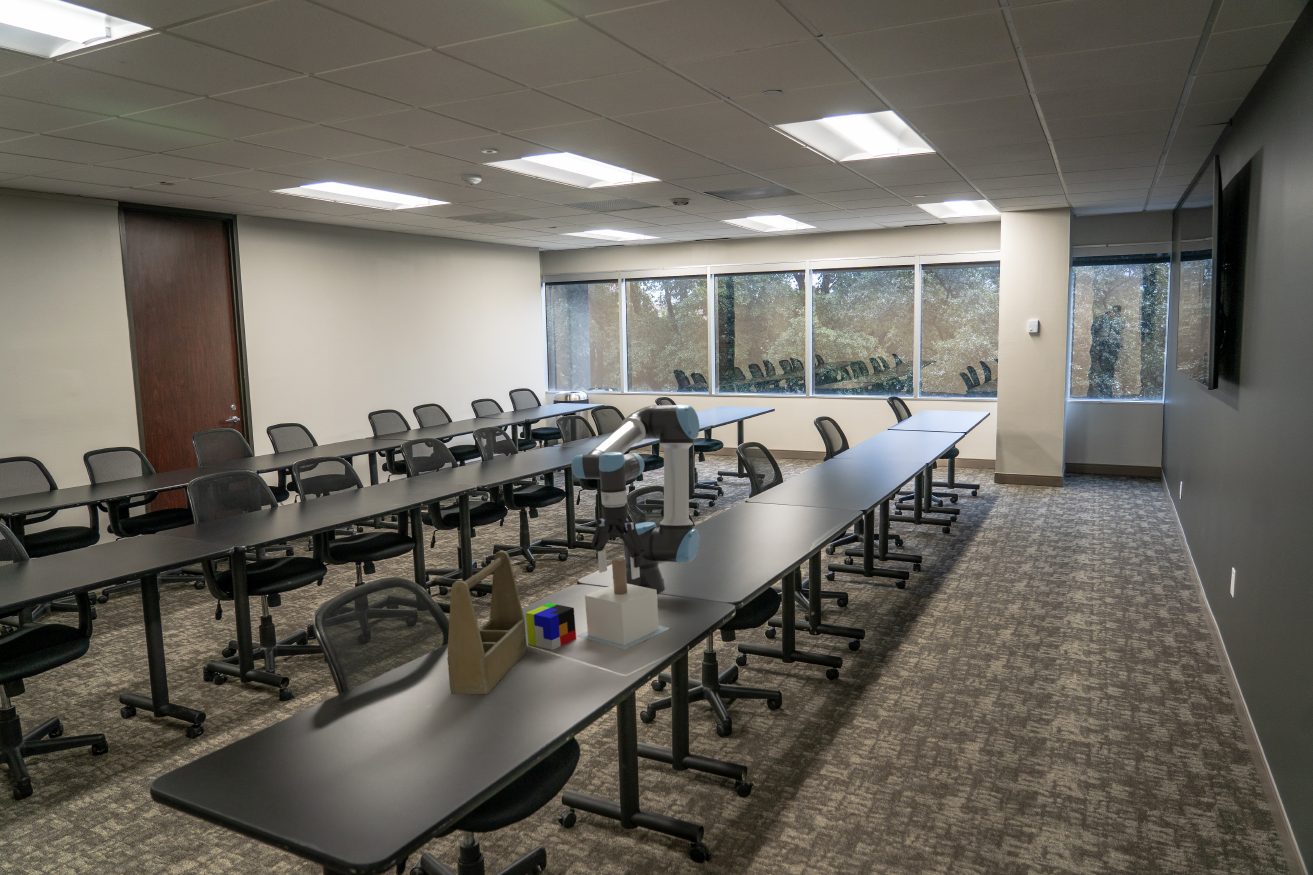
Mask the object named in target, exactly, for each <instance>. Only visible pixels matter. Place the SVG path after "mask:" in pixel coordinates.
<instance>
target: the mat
mask: <svg viewBox="0 0 1313 875" xmlns="http://www.w3.org/2000/svg"><path fill="white" fill-rule="evenodd" d="M670 629H671V627H667V626H662V625H659V629H658V630H656V631H654V632H652V633H650V634H647V635H645V636H643V637H641V638H639V639H636V640H634V641H632V642H630V643H628V644H625V645H622V644H619V643H615V642H612V641H608V640H604V639H601V638H597V637H593V636H590V635H588V630H587V631H585V632H583V633H579V634H576V637H579V638H582V639H585V640H590V641H592V642H593V641H594V642H596V643H601V644H604V645H607V646H610V647H614V648H618V649H622V650H627V649H628V648H631V647H633V646H635V645H637V644H640V643H642V642H644V641H646V640H648V639H650V638H653V637H655V636H657V635H659V634H661V633H663V632H666V631H668V630H670Z"/></svg>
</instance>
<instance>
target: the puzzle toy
mask: <svg viewBox="0 0 1313 875" xmlns="http://www.w3.org/2000/svg"><path fill="white" fill-rule="evenodd" d="M525 620H526V632H527V633H526V634H527V642H528V643H527V644H528V646H529V645H530V647H533V646H535V647H538V648H542V649H543V648H544V649H547V650H550V651H554V650H555V649H558V648H561V647H562V646H564V645H566V644H568V643H571V642H572V641H575V640H577V632H576V618H575V607H572V606H567V605H562V604H556V603H552V602H549V603H546V604H544V605H541V606H539V607H536V608H534V609H532V610H530V611H527V612H525Z"/></svg>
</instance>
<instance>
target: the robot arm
mask: <svg viewBox="0 0 1313 875" xmlns="http://www.w3.org/2000/svg"><path fill="white" fill-rule="evenodd" d="M699 434H700V420H699V416H698V413H697V411H696V410H695V409H694V407H693V406H692V405H689V404H665V405H664V404H663V405H662V404H661V405H656V404H655V405H648V406H645V407H642V408H640V409H637V410H636V411H634V412H632V413H630V414H629V415H628V416H626V417H625V418H624V419H623V420H622V421H621V422H620V426H619V427H618V428H617V429H615V431H613V432H612V433H611V434H609V435H608V437H606V438H605V439H604V440H602V442H600V443H599V444H598V445H596V447H594V448H593V449H592V450H591V451H589V452H588V453H587V454H584V453H582V454H577V455H575V456H574V457H573V459H572V461H571V466H570V467H571V471H572V475H573V476H574V477H575V479H576V478H577V479H584V480H593V479H594V480H599V481H600V482H599V483H600V496H601V504H602V506H601V512H602V518H599V519H596V528H595V530H594V531H595V532H594V534H593V538H592V540H591V545H590V547H591V549H595V551H596V559H597V561H598V572H599V573H601V574H602V573H605V572H607V571H608V564H607V560H608V559H607V550H606V548H605V547H606V545H607V543H608V542H609V540H610V539H611V537H617V538H619V539H620V540H621V541H622V542H623V551H624V552H623V554H624V559H625V564H626V578H627V584H632V585H636V586H641V587H646V588H651V589H656V590H657V593H659V592H662V591H663V590H664V589H665V586H666V585H665V584H666V583H665V579H664V578H663V576H662V572H661V570H660V567H659V562H665V563H677V564H681V563H683V564H685V563H686V564H687V563H691V562H692V561H693V560H695V558H696V557H697V554H698V551H699V548H700V539H701V538H700V533H699V530H697V529H696V528H694V523H693V521H692V520H691V519H690V516H689V515H690V490H689V489H690V486H689V485H690V480H689V479H690V478H689V476H690V472H689V471H690V469H689V468H690V467H689V466H690V458H689V457H690V450H689V449H690V447H691V446H692V447H693V445H694V440H695V439H697V438H698V437H699ZM651 439H652V440H653V439H654V440H657V439H658V440H659V445H660V446H661V447H662V448H663V519H661V521H660V522H659V527H657V523H656V522H653V521H644V522H639V523H636V522H634V521H632V522H628V521H627V518H628V516H629V512H628V509H629V508H628V505H627V503H628V498H627V485H626V484H627V481H629V480H632V479H636V478H637V477H639V476H640V475H642V474H643V472H644V470H645V461H644V459H643V457H642V456H641V455H640V454H638V453H636V452H631V453H630V452H628V453H626V452H627V451H628V450H629V449H631V448H632V447H633V446H634V445H635V444H639V443H641V442H643V441H644V440H651ZM625 453H626V454H625Z"/></svg>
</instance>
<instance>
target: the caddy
mask: <svg viewBox="0 0 1313 875" xmlns="http://www.w3.org/2000/svg"><path fill="white" fill-rule="evenodd" d="M492 573H493V574H492ZM491 574H492V584H491V602H490V613H489V620H488V621H486V622H485V624H483V625H482V626H481V627H480V626H479V623H478V619H477V615H476V610H475V608H474V604H473V599H472V596H471V592H470V590H471V589H472V588H474V587H475V586H476V585H479V583H481V582H482V581H483V580H485V579H486V578H487V577H489V576H490V575H491ZM515 578H516V577H515V573H514V569H513V566H512V562H511V558H510V555H509V553H508V552H506V551H503V550H500V551H497V552H495V553H494V557H493V561H492V562H491V563H489V564H488V565H486V566H485V567H484V568H482V569H481V570H480V571H478V572H477V573H475V574H474V575H472V576H470V577H468V578H467V579H466V580H456V581H454V582H453V583H452V585H451V590H450V604H449V606H450V608H449V619H448V620H449V622H448V623H449V624H448V639H447V657H446V658H447V666H448V667H447V670H448V681H449V688H450V689H449V690H450V694H454V695H455V694H459V695H460V694H461V695H462V694H464V695H488V694H489V693H490V692H491V691H492V690H493V689H494V688H493V687H496V686H497V684H498V683H499V682H500V681H501V680H502V679H503V678H504V677H505V675H506V674H507V673H508V672H509V671H510V670H511V669H512V668H513V667H514V666H515V665H516V664H517V663H518V662H519V661H520V659H521V658H522V657H523V656H524V655H525V654H526V653H527V651H528V647H527V644H528V643H527V635H526V634H527V633H526V623H525V620H526V619H525V616H524V611H523V607H522V603H521V599H520V595H519V590H518V585H517V582H516V579H515ZM502 677H503V678H502ZM501 678H502V679H501ZM499 680H500V681H499Z"/></svg>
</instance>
